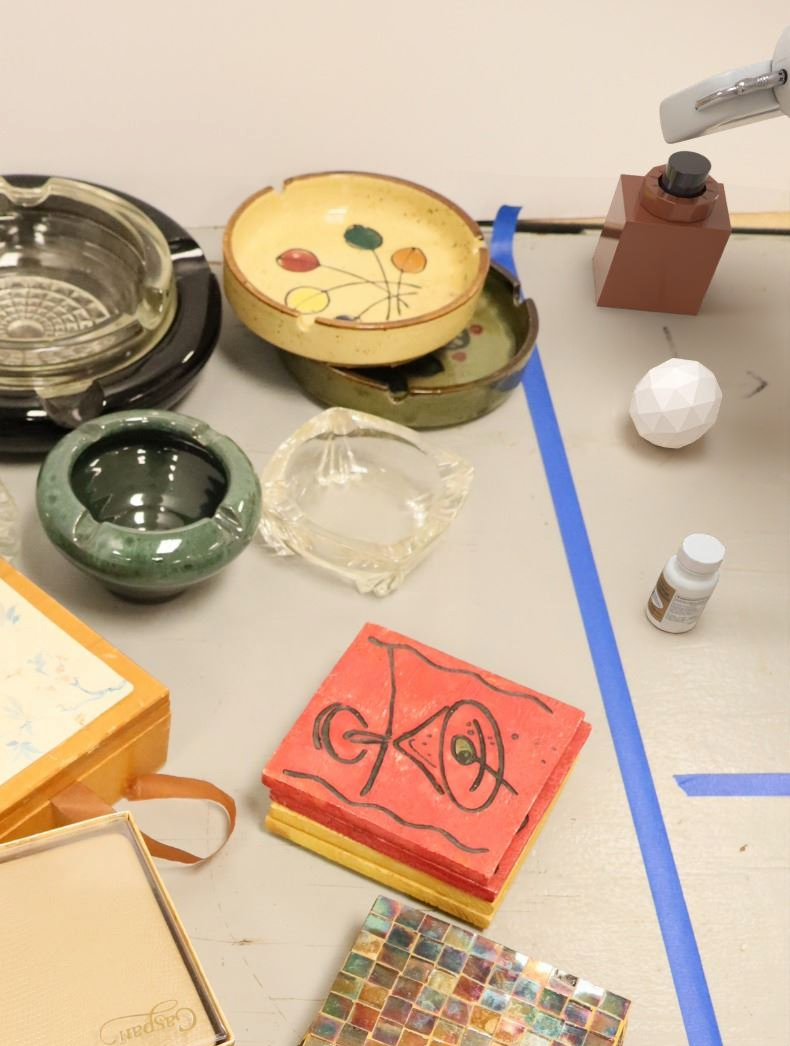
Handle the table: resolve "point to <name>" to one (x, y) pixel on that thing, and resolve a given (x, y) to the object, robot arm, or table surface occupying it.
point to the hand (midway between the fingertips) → (711, 120)
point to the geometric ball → (675, 403)
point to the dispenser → (660, 246)
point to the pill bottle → (686, 584)
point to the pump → (685, 174)
